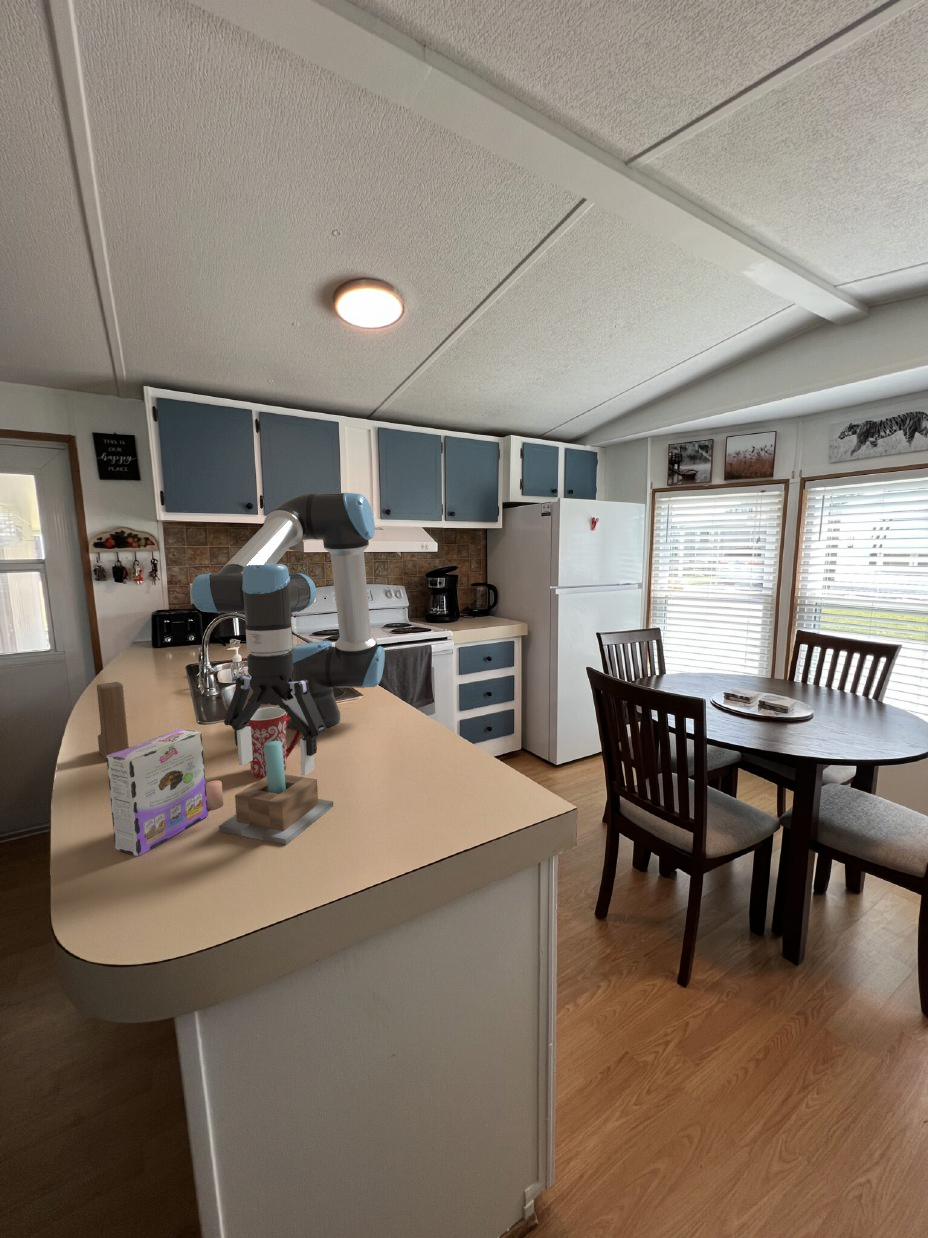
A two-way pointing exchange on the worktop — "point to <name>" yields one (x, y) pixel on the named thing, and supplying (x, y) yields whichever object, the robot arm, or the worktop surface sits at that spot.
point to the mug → (269, 736)
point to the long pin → (275, 767)
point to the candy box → (156, 790)
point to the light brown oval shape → (214, 794)
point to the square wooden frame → (276, 810)
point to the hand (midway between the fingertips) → (276, 767)
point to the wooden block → (112, 718)
